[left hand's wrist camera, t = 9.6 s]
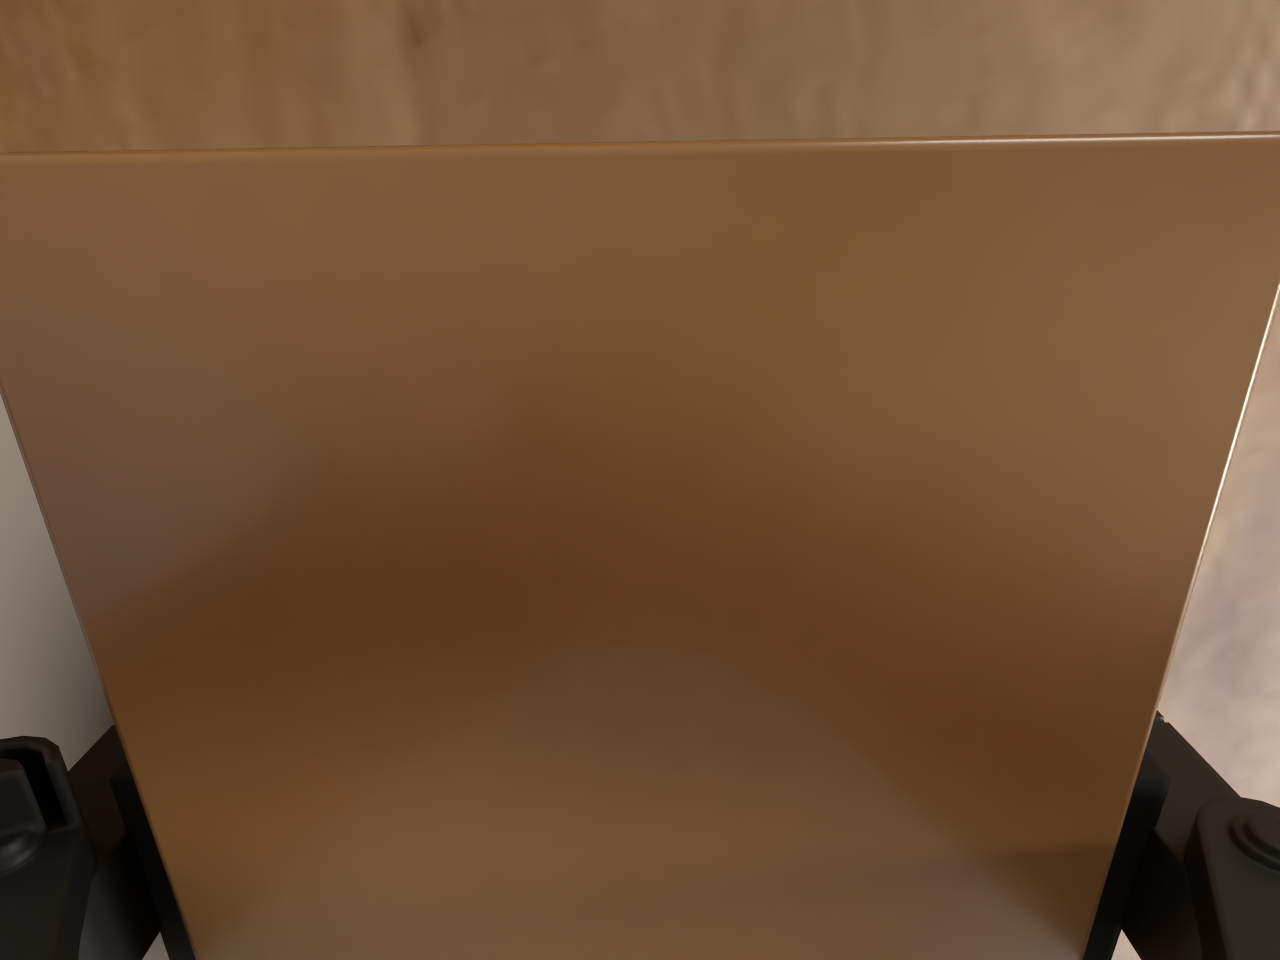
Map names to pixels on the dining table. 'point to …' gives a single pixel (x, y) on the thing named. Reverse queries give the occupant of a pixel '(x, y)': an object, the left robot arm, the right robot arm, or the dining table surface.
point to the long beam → (637, 524)
